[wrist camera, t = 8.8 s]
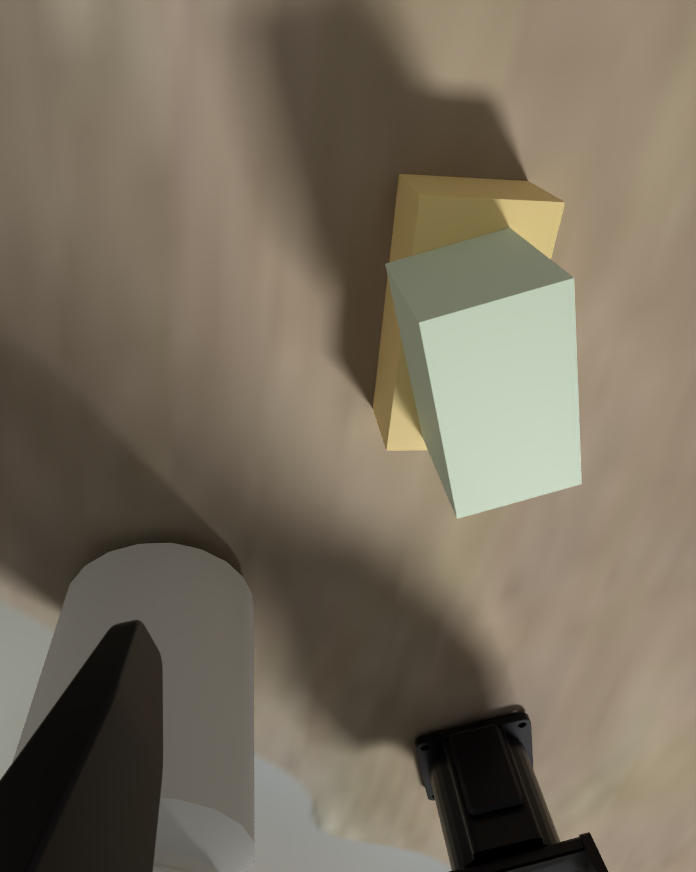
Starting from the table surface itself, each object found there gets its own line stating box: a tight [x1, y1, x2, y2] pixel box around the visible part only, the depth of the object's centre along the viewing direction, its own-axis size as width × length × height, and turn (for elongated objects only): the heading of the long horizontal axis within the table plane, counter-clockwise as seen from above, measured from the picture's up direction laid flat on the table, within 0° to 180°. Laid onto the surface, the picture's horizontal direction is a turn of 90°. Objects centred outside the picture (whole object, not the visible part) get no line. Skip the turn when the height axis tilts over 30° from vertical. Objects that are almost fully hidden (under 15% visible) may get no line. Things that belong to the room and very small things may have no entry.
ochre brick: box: [373, 174, 565, 451], centre depth 20 cm, size 8×4×3 cm, turn 176°
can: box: [13, 543, 254, 872], centre depth 22 cm, size 8×8×12 cm
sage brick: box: [385, 228, 582, 519], centre depth 17 cm, size 6×4×4 cm, turn 14°
